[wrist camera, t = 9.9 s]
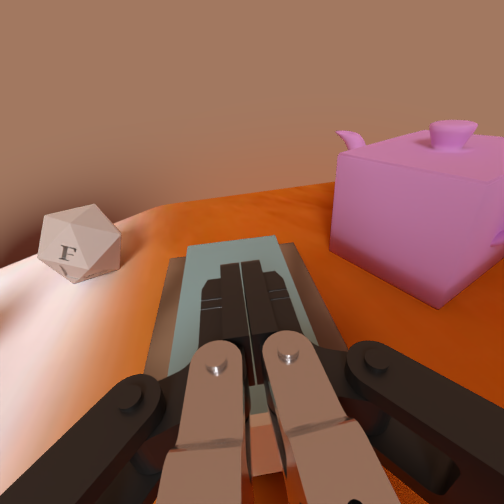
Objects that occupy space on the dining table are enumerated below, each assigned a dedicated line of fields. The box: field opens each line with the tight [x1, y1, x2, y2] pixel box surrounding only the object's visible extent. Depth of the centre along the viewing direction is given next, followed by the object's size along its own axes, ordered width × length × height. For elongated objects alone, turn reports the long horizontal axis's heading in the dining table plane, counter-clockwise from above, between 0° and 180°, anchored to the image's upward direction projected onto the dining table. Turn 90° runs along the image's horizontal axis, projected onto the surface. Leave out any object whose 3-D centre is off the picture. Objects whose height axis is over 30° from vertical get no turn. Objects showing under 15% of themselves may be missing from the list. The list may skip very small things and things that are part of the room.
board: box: [143, 243, 348, 381], centre depth 25 cm, size 15×20×1 cm
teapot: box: [329, 120, 504, 310], centre depth 29 cm, size 15×25×14 cm, turn 33°
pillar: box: [167, 235, 319, 476], centre depth 20 cm, size 8×5×16 cm
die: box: [37, 204, 121, 284], centre depth 32 cm, size 8×9×10 cm
